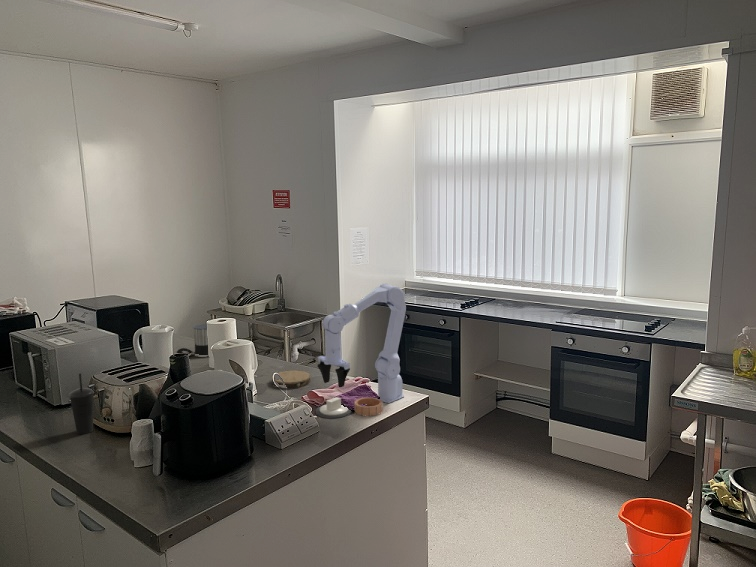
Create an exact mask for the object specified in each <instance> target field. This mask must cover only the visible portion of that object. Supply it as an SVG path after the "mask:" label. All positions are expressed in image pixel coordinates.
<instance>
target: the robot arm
mask: <svg viewBox="0 0 756 567" xmlns="http://www.w3.org/2000/svg"><path fill="white" fill-rule="evenodd" d="M405 296H406V293H405V292H404V291H403V290H402V288H400V287H399V286H394V285H390V284H388V283H382V284H380V285H378V286H376V287H375V288H374V290H372V291H371V292H370V293H368V294H367V295H365V296H364V297H362V298H361V299H359V301H357V302H356V303H354V304H353V303H345V304H344V305H343V307H342V308H340V309H339V310H337V311H333V314H328V315H326V316H325V317H324V318H323V319H322V322H321V327H322V328H323V329H324V348H325V350H324V351H325V356H324V355H320V356H317V362H318V364H317V369H318V370H319V371H320V373H321V374H320V375H321V377H322V379H323V383H325V384H326V383H330V379H331V367H332V366H334V367H338V368H335V373H336V375H337V385H338V386H337V387H338V388H343V387H345V383H346V379H347V376H348V375H349V372H350V371H351V364H350V362H347V361H346V360H344V359H342V333H341V332H342V331H343V329H344V327H345V326H346V325H348V324H349V323H351V322H352V321H354V320H355V319H357V318H358V317H359V315H360V312H362V311H364V310H365V309H368V308H369V307H371V306H373V305H374V304H377V303H385V304H386V305H387V306H388V307H389V309H390V315H389V320H388V325H387V330H386V335H385V340H384V345H383V349H382V350H381V351H380V352H379V353H378V356H377V357H378V358H377V359H376V361H375V363H374V367H375V370H376V371H377V388H378V389H377V396H378V395H379V397H380V400H381V401H382V402H383V403H387V404H390V403H394V402H395V401H398V400H399V399H402V398H405V395H403V379H402V376H401V375H400V373H401V366H400V363H401V362H400V361H401V359H400V357H399V354H398V351H399V345H400V341H401V337H402V331H403V325H404V322H405V316H406V312H407V311H406V310H407V305H406V299H405Z"/></svg>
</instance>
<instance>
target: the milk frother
mask: <svg viewBox="0 0 756 567" xmlns="http://www.w3.org/2000/svg"><path fill="white" fill-rule="evenodd" d="M207 324H208V323H202V324H195V325H193V326H192V327H193V337H194V355H195V354H199V355H208V344H207V342H208V338H207ZM184 352H187V353H188V352H189V353H192V352H193V350H191V349H189V348H186V347H185V348H184V347H183V348H179V349H178V350H177V351H176V353H184ZM189 353H188V354H189Z"/></svg>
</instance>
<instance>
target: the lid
mask: <svg viewBox="0 0 756 567" xmlns="http://www.w3.org/2000/svg"><path fill="white" fill-rule="evenodd" d="M341 404H342V398H341V397H337V396H335V397H333V398H330V399H327V400H326V404H323V405H320V406H321V407H320V406H319V407H320V413H322V414H324V415H330V416H335V415H342V414H344V413H346V412H348V408H347V407H344V406H343V405H341Z"/></svg>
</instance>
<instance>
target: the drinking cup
mask: <svg viewBox="0 0 756 567" xmlns="http://www.w3.org/2000/svg"><path fill="white" fill-rule="evenodd" d="M78 379H79V381H78V382H79V388H76V389H74V390H72V391H70V392H69V393H68V397H69V399H70V405H71V410H72V415H73V419H74V425H75V430H76V434H78V435H87V434H90V433H93V431H94V398H95V397H94V396H95V395H94V394H95V392H94V391H95V390H94V389H93V390H94V391H93V390H92V388H88V387H83V380H82V373H78Z"/></svg>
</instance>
